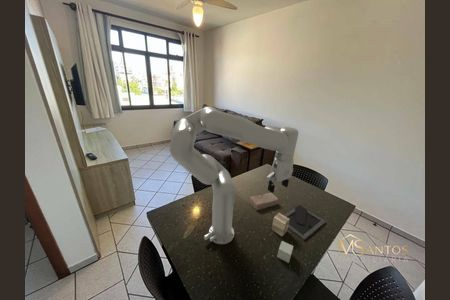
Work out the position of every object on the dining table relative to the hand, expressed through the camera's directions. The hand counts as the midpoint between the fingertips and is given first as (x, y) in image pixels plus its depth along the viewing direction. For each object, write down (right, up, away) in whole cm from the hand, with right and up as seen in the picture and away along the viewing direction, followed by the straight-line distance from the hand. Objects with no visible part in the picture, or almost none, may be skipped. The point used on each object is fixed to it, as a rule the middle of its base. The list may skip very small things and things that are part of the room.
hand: (277, 188), depth 84 cm
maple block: (+3, -23, +7) cm, 24 cm away
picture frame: (+17, -22, +14) cm, 31 cm away
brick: (-1, -16, +27) cm, 31 cm away
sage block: (+1, -28, -6) cm, 29 cm away
